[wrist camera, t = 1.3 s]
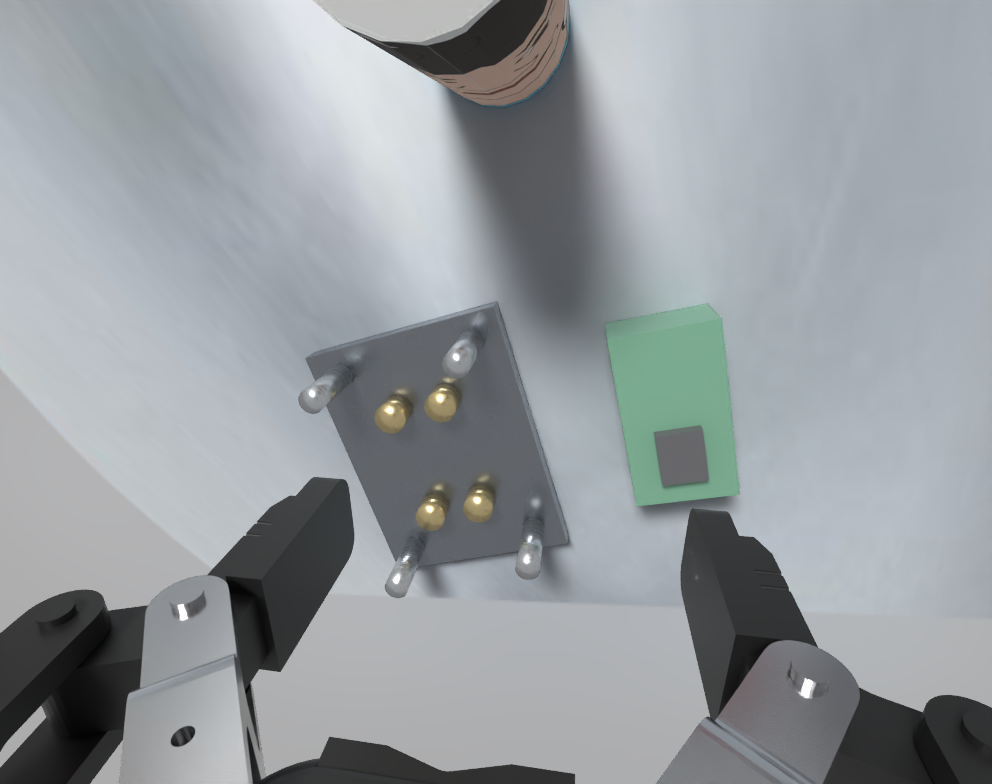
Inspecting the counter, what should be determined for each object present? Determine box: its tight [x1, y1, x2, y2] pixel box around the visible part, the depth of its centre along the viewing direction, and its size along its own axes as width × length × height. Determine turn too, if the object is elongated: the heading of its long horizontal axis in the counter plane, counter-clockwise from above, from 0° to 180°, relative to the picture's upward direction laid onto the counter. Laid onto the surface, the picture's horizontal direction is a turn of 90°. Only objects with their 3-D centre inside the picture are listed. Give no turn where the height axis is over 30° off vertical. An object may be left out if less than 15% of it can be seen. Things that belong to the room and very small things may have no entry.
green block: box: [605, 304, 740, 506], centre depth 30 cm, size 10×6×4 cm, turn 14°
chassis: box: [298, 301, 568, 598], centre depth 32 cm, size 16×12×5 cm
